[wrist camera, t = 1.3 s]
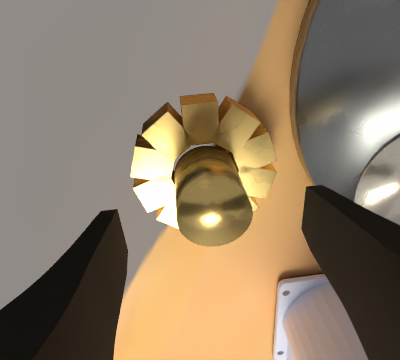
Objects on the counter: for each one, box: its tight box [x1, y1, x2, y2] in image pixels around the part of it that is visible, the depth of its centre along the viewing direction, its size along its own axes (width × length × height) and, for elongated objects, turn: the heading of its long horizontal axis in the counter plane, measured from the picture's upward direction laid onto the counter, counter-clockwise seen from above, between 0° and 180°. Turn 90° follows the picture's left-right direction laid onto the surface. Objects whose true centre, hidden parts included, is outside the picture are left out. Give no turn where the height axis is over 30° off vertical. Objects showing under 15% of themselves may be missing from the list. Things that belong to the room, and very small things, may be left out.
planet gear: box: [130, 93, 277, 246], centre depth 14 cm, size 7×7×5 cm
